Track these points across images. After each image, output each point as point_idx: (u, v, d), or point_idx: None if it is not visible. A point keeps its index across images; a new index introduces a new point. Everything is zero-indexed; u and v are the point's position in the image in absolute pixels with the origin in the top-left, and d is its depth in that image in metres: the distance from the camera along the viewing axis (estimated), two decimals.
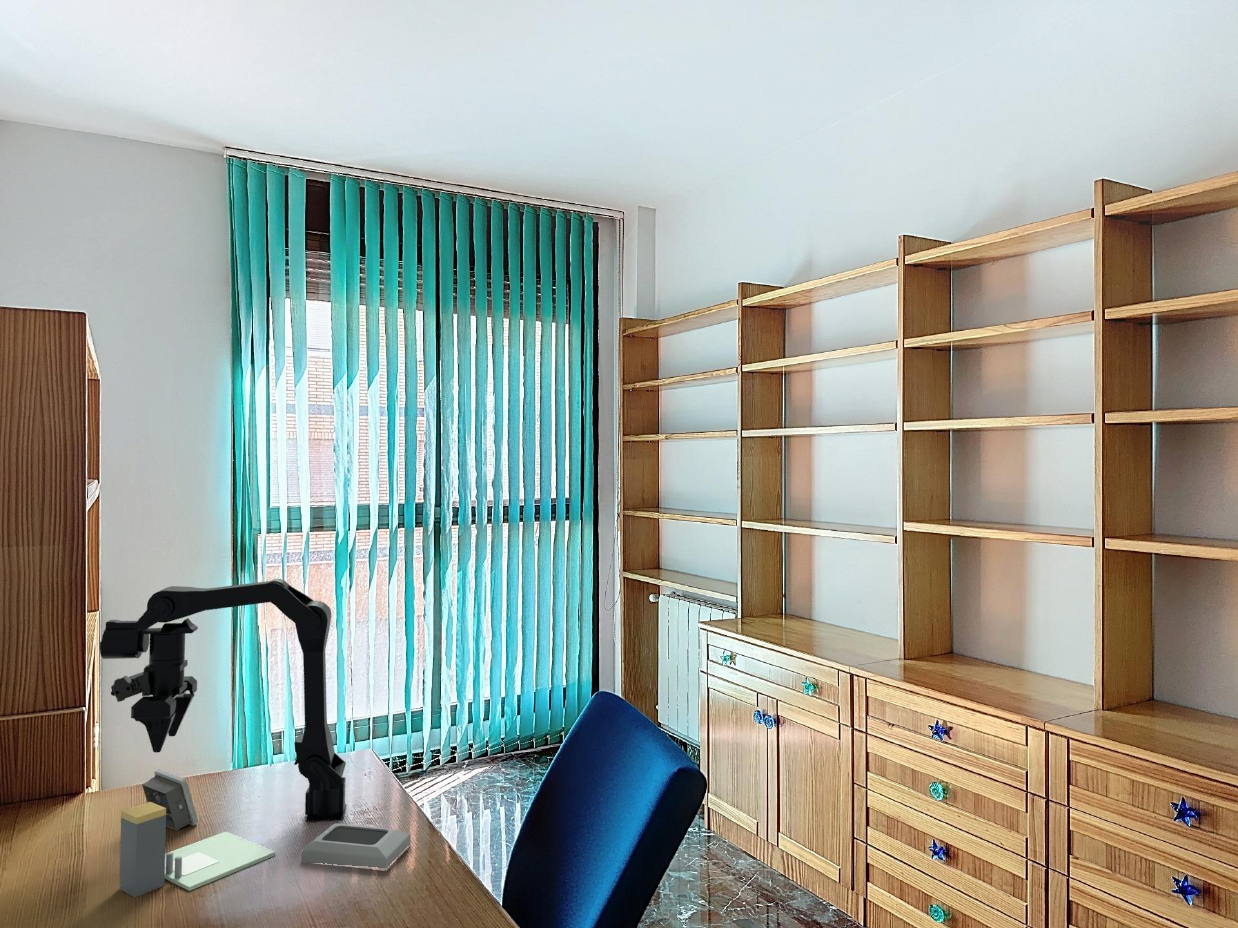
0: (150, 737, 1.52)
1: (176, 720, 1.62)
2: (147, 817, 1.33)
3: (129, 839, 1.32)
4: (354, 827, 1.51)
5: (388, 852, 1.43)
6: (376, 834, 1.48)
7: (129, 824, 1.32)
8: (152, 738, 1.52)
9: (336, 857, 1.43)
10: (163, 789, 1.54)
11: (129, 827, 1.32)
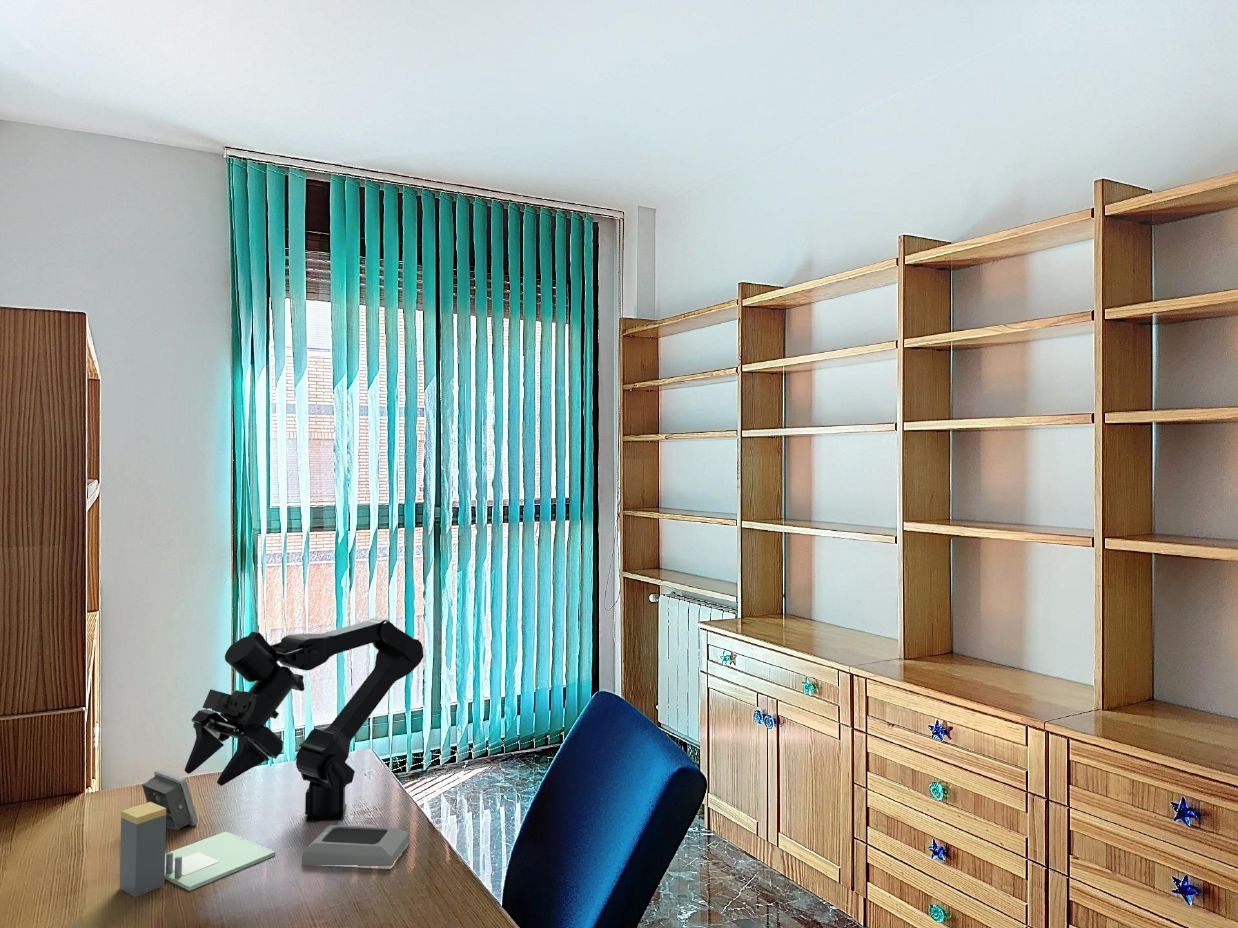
0: (231, 766, 1.41)
1: (201, 759, 1.47)
2: (147, 817, 1.33)
3: (129, 839, 1.32)
4: (352, 828, 1.50)
5: (392, 851, 1.43)
6: (376, 834, 1.48)
7: (129, 824, 1.32)
8: (231, 768, 1.41)
9: (339, 858, 1.42)
10: (163, 789, 1.54)
11: (130, 827, 1.32)
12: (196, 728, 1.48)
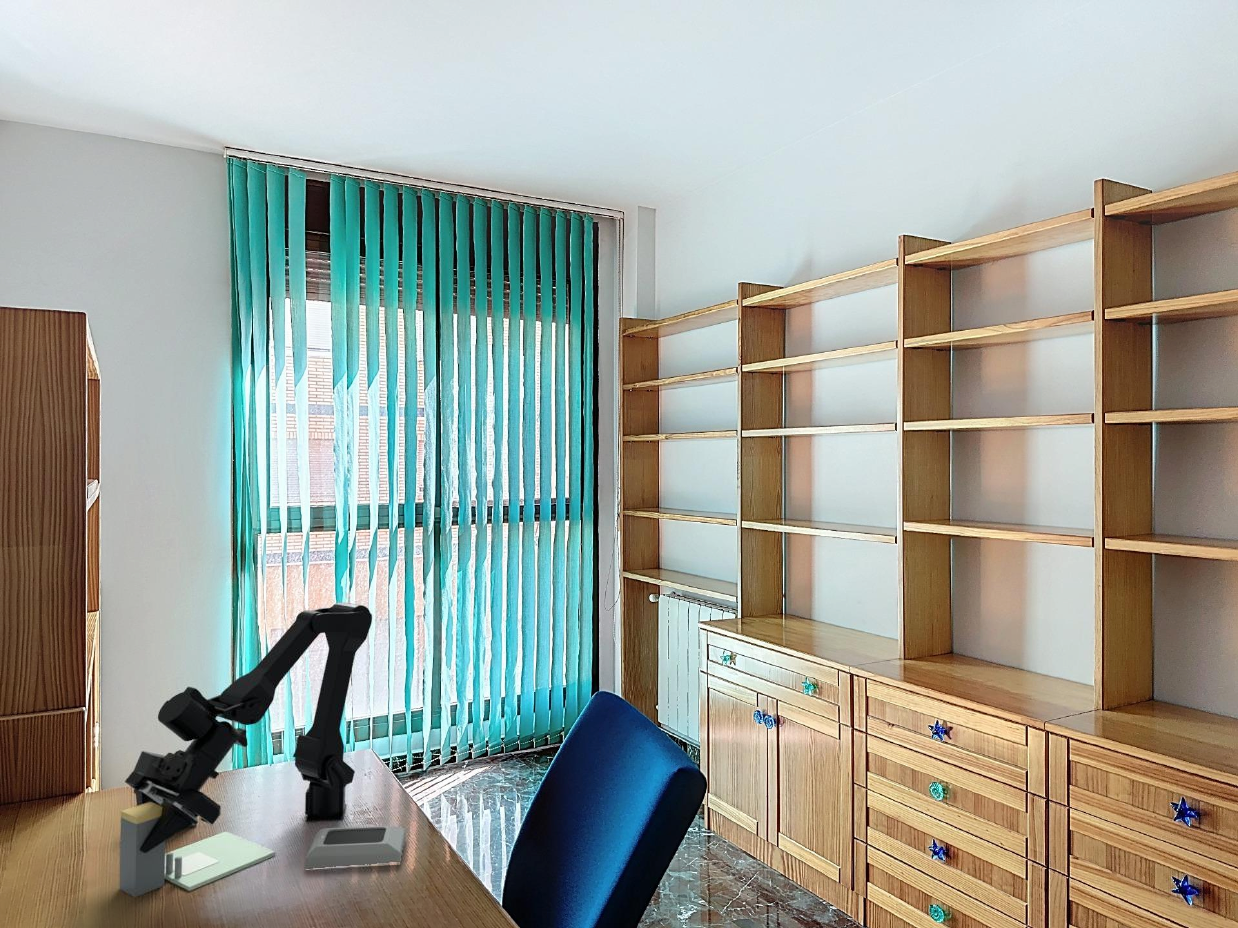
0: (156, 832, 1.33)
1: None
2: (147, 817, 1.33)
3: (129, 838, 1.32)
4: (347, 829, 1.50)
5: (399, 847, 1.45)
6: (375, 832, 1.49)
7: (129, 824, 1.32)
8: (155, 834, 1.33)
9: (345, 859, 1.42)
10: None
11: (129, 827, 1.32)
12: (136, 794, 1.38)
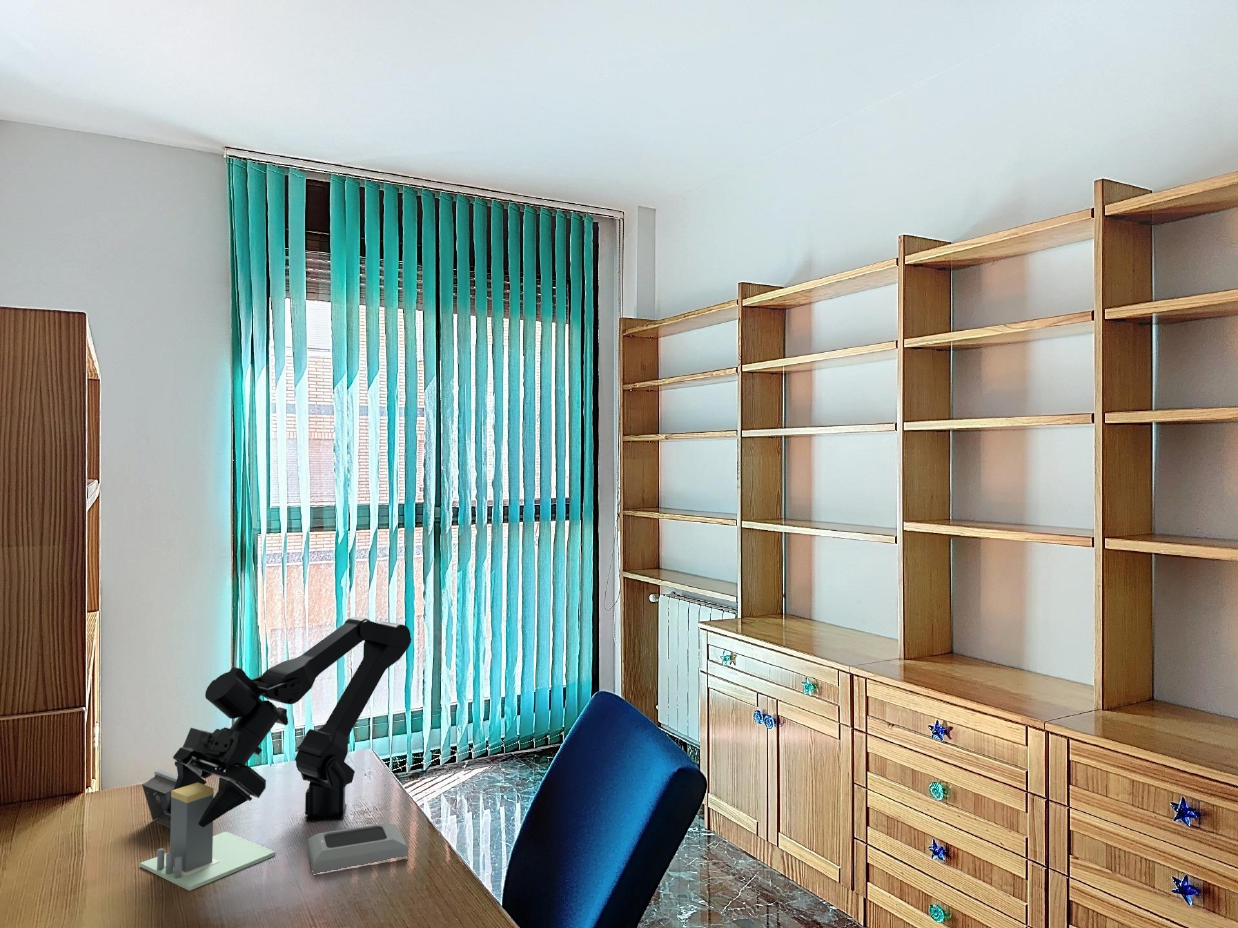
0: (213, 807, 1.38)
1: None
2: (197, 796, 1.39)
3: (179, 817, 1.39)
4: (342, 831, 1.49)
5: (404, 841, 1.47)
6: (372, 831, 1.49)
7: (180, 803, 1.39)
8: (212, 809, 1.38)
9: (354, 859, 1.42)
10: (163, 789, 1.54)
11: (180, 805, 1.39)
12: (177, 766, 1.46)
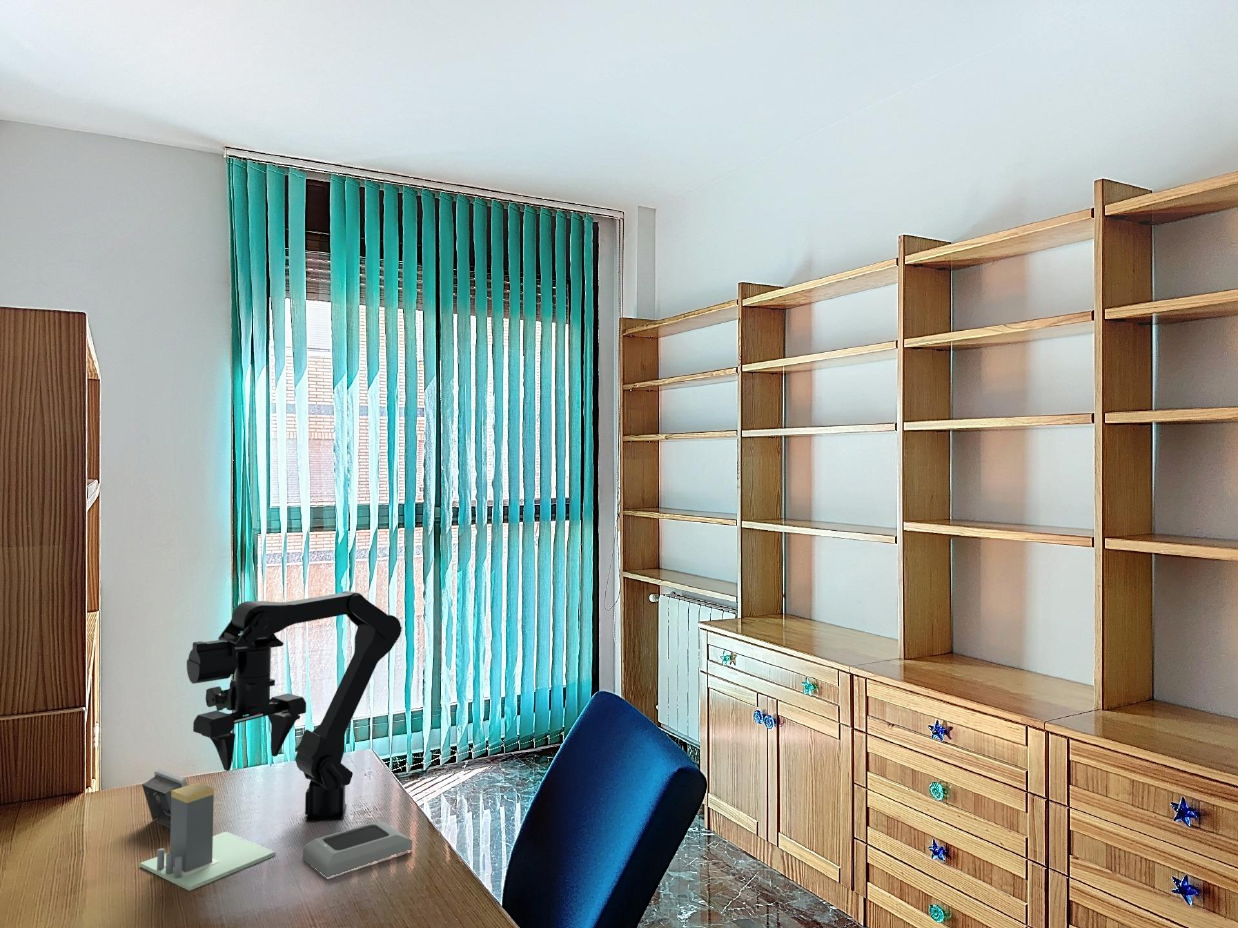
0: (218, 753, 1.49)
1: (276, 740, 1.57)
2: (197, 796, 1.39)
3: (179, 817, 1.39)
4: (338, 834, 1.48)
5: None
6: (369, 830, 1.50)
7: (180, 803, 1.39)
8: (221, 755, 1.49)
9: (364, 858, 1.42)
10: (163, 789, 1.54)
11: (180, 805, 1.39)
12: None
